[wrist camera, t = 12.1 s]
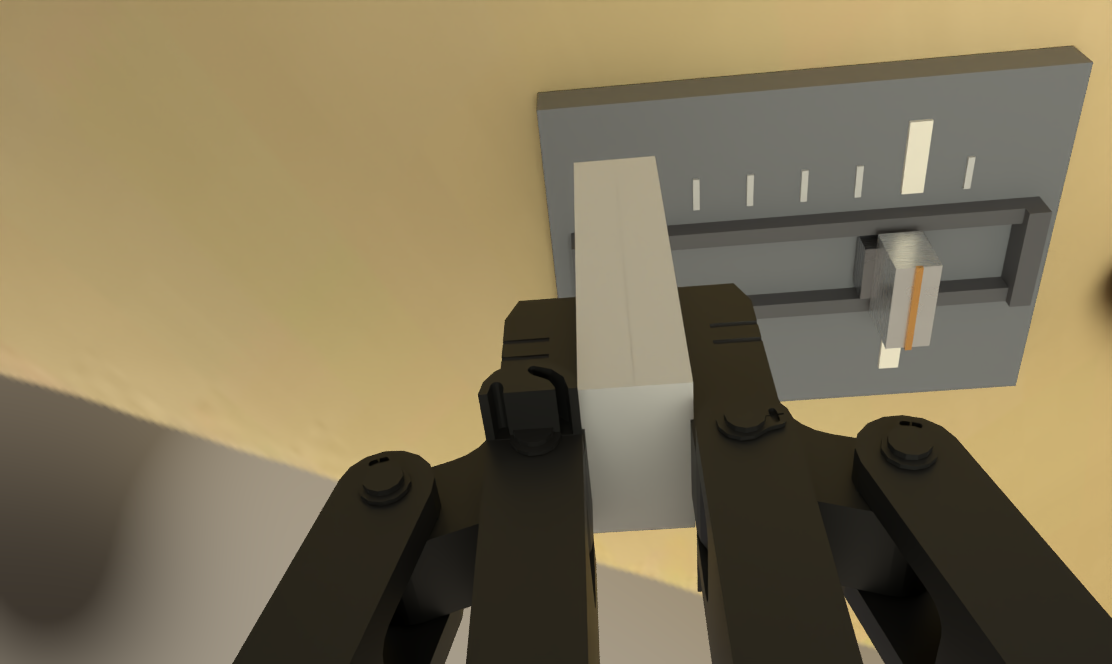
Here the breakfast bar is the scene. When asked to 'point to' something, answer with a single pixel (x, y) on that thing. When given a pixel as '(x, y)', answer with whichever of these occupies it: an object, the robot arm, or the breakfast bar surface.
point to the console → (846, 200)
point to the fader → (899, 286)
